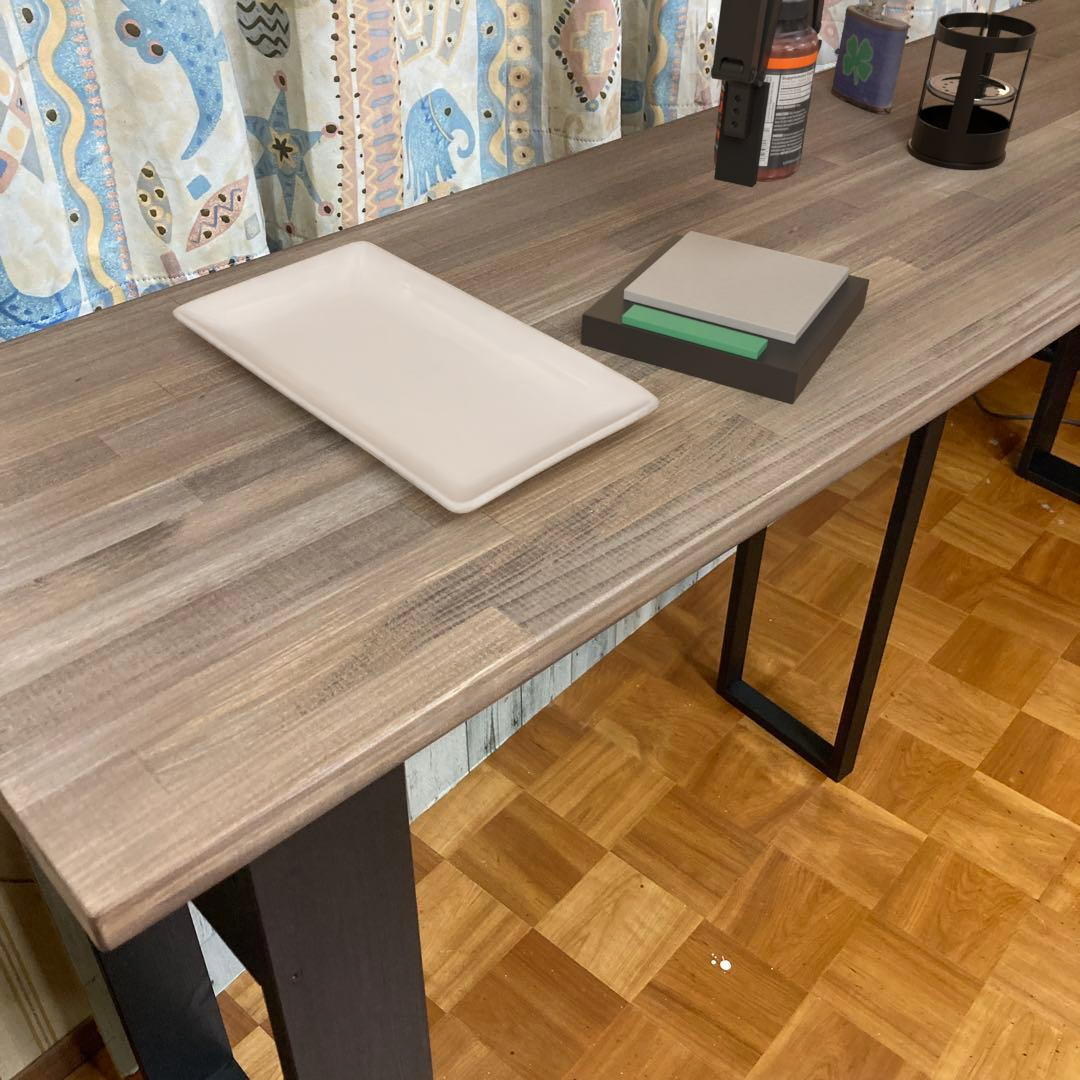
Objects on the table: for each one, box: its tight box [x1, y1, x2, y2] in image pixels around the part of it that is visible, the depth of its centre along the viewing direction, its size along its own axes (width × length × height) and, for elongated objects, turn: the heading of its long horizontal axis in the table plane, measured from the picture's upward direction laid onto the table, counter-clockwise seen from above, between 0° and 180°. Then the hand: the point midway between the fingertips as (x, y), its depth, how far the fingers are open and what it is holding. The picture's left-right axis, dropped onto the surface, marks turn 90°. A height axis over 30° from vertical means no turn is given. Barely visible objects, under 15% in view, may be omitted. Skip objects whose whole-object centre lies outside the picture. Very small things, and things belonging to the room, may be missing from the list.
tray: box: [172, 240, 661, 515], centre depth 74 cm, size 17×32×4 cm, turn 43°
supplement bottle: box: [713, 0, 820, 183], centre depth 74 cm, size 6×6×11 cm
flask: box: [830, 0, 910, 115], centre depth 121 cm, size 9×3×11 cm, turn 25°
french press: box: [906, 0, 1038, 171], centre depth 105 cm, size 12×9×23 cm
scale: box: [580, 230, 870, 405], centre depth 82 cm, size 16×16×3 cm
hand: (753, 164), depth 77 cm, fingers closed on supplement bottle, 6 cm apart
